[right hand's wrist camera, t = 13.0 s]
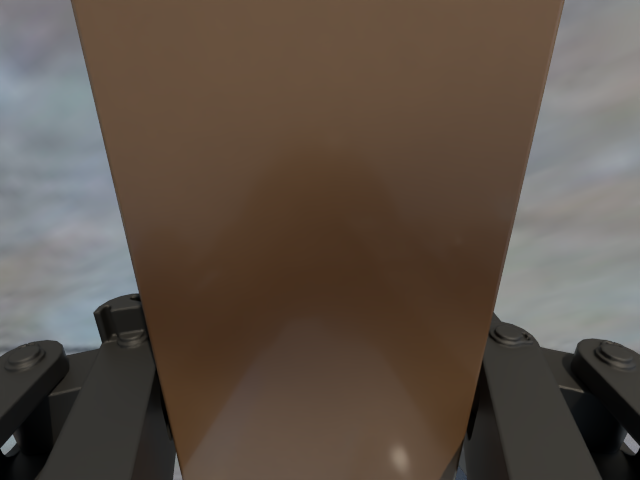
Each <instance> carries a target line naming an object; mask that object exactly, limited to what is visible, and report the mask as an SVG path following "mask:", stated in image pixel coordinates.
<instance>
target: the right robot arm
mask: <svg viewBox="0 0 640 480" xmlns="http://www.w3.org/2000/svg"><path fill="white" fill-rule="evenodd" d="M94 317H95V320H96V324H97V327H98V330H99V334H100V337H101V341H102V344H101V346H100V349H96V350H91V351H86V352H81V353H76V354H71V355H66V354H65V351H64V348H63V345H62V344H60V343H59V342H57V341H51V340H44V341H37V342H31V343H28V344H24V345H21V346H19V347H17V348H15V349H13V350H11V351H9V352H7V353H5V354H4V355H2V356H1V357H0V448H1V447H2V446H3V445H4V443H5V442H6V441H7V440H8V439H9V438H10V437H11V436H12V434H13V436H14V438H15V440H16V442H17V443H16V445H15V446H14V447H13V448H12V449H11V450H10V451H9V452H8V453H7V454H6V455H4V454H3V453H2V451H1V449H0V480H173V473H174V464H175V456H176V449H175V445H174V441H173V436H172V432H171V428H170V423H169V419H168V415H167V411H166V406H165V402H164V398H163V393H162V389H161V385H160V380H159V376H158V372H157V368H156V363H155V359H154V355H153V350H152V346H151V342H150V338H149V333H148V329H147V325H146V320H145V316H144V312H143V308H142V303H141V299H140V295H139V294H129V295H124V296H120V297H117V298H115V299H112V300H109V301H108V302H106V303H104V304H103V305H101V306H99V307H98V308H97V309H96V311H95V312H94ZM627 433H629V434H630V435H631V437H632V438H633V439H634V440H635V441H636V442H637V443H638V444H639V446H640V355H639V354H638V353H636V352H635V351H633V350H631V349H628V348H626V347H624V346H623V345H621V344H618V343H615V342H614V343H613V342H612V341H608V340H600V339H584V340H582V341H581V342H579V343H578V344H577V347H576V350H575V353H574V354H571V353H566V352H561V351H556V350H551V349H546V348H542V347H540V346H539V344H538V342H537V341H536V339H535V338H534V337H533V336H532V335H531V334H530V333H528V332H527V331H525V330H524V329H522V328H520V327H517V326H515V325H513V324H509V323H505V322H501V321H500V320H499V318H498V317H497V316H496V315H495V313H494V312H493V316H492V320H491V325H490V329H489V333H488V338H487V342H486V346H485V351H484V355H483V360H482V364H481V368H480V373H479V377H478V381H477V386H476V390H475V395H474V399H473V403H472V408H471V412H470V416H469V421H468V425H467V430H466V434H465V438H464V443H463V447H462V451H461V456H460V460H459V467H460V468H461V469H462V471H463V472H464V473H465V475H466V476H467V480H640V448H639V450H638V452H637V453H636V454H635V453H634V452H633V451H632V450H630V449H629V447H628V446H627V445H626V444H625V443H624V442H623V441H624V439H625V437H626V435H627Z"/></svg>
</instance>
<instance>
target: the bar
mask: <svg viewBox="0 0 640 480" xmlns="http://www.w3.org/2000/svg"><path fill="white" fill-rule="evenodd" d="M564 1H565V0H71V3H72V8H73V12H74V16H75V20H76V25H77V29H78V33H79V38H80V42H81V46H82V50H83V55H84V59H85V63H86V68H87V72H88V76H89V80H90V85H91V89H92V93H93V98H94V102H95V106H96V110H97V115H98V119H99V123H100V128H101V132H102V136H103V140H104V145H105V149H106V153H107V158H108V162H109V166H110V170H111V175H112V179H113V183H114V188H115V192H116V196H117V200H118V205H119V209H120V213H121V218H122V222H123V226H124V230H125V235H126V239H127V243H128V248H129V252H130V256H131V260H132V265H133V269H134V273H135V278H136V282H137V286H138V290H139V295H140V299H141V303H142V308H143V312H144V316H145V320H146V325H147V329H148V333H149V338H150V342H151V346H152V350H153V355H154V359H155V363H156V368H157V372H158V376H159V380H160V385H161V389H162V393H163V398H164V402H165V406H166V411H167V415H168V419H169V423H170V428H171V432H172V436H173V441H174V445H175V449H176V453H177V458H178V462H179V466H180V471H181V475H182V479H183V480H455V478H456V473H457V469H458V465H459V460H460V456H461V451H462V447H463V443H464V438H465V434H466V430H467V425H468V421H469V416H470V412H471V408H472V403H473V399H474V395H475V390H476V386H477V381H478V377H479V373H480V368H481V364H482V360H483V355H484V351H485V346H486V342H487V338H488V333H489V329H490V325H491V320H492V316H493V311H494V307H495V303H496V298H497V294H498V290H499V285H500V281H501V276H502V272H503V268H504V263H505V259H506V255H507V250H508V246H509V241H510V237H511V233H512V228H513V224H514V220H515V215H516V211H517V206H518V202H519V198H520V193H521V189H522V185H523V180H524V176H525V171H526V167H527V163H528V158H529V154H530V150H531V145H532V141H533V136H534V132H535V128H536V123H537V119H538V115H539V110H540V106H541V101H542V97H543V93H544V88H545V84H546V80H547V75H548V71H549V66H550V62H551V58H552V53H553V49H554V45H555V40H556V36H557V31H558V27H559V23H560V18H561V14H562V10H563V5H564Z"/></svg>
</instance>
